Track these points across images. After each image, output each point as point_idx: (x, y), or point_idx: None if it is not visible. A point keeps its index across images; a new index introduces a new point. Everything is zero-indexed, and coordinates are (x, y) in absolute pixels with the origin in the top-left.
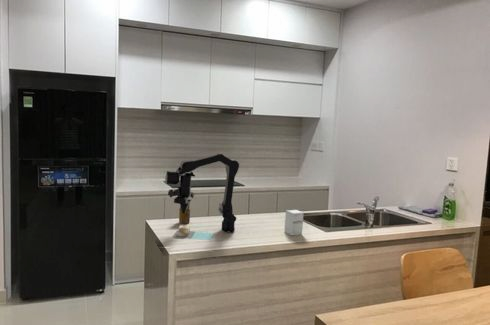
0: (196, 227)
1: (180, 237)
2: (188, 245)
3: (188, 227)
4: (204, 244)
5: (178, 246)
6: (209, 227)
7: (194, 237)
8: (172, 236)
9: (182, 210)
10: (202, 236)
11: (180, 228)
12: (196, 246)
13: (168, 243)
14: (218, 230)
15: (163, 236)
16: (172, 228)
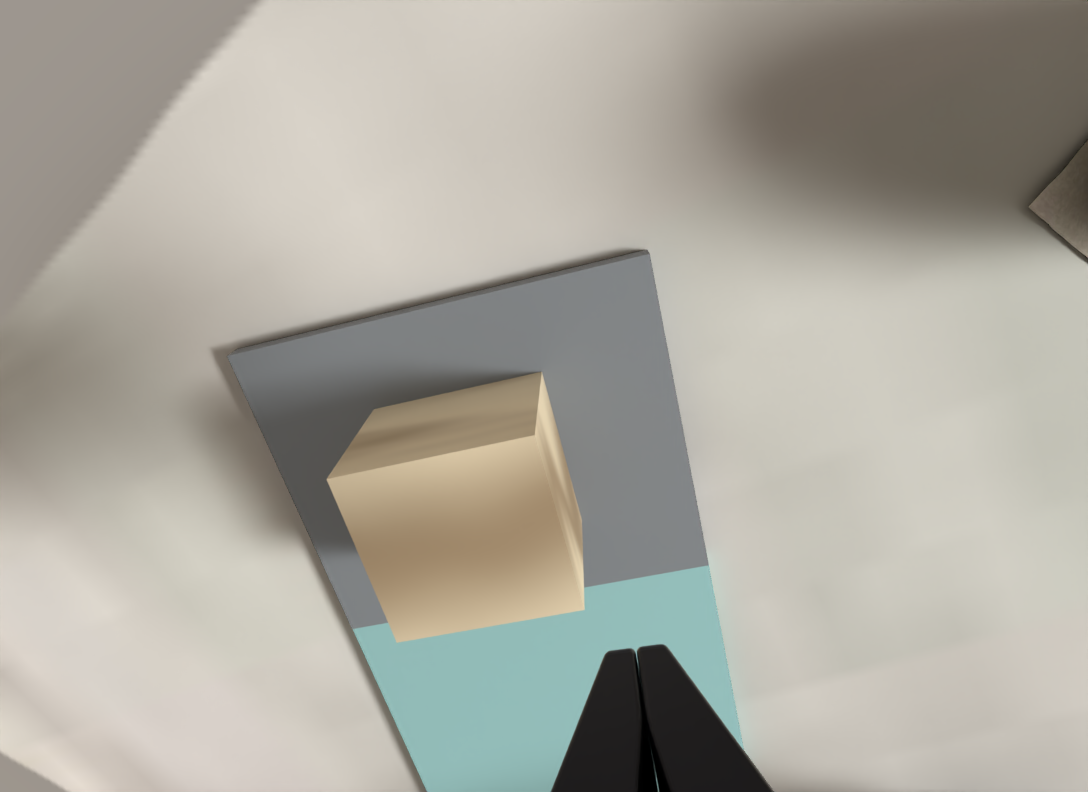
0: (1027, 458)
1: (303, 483)
2: (140, 662)
3: (469, 624)
4: (294, 787)
5: (19, 578)
6: (1076, 632)
7: (425, 645)
8: (268, 348)
9: (573, 772)
10: (524, 713)
11: (345, 512)
12: (175, 742)
13: (11, 413)
14: (938, 769)
15: (238, 156)
16: (821, 45)
